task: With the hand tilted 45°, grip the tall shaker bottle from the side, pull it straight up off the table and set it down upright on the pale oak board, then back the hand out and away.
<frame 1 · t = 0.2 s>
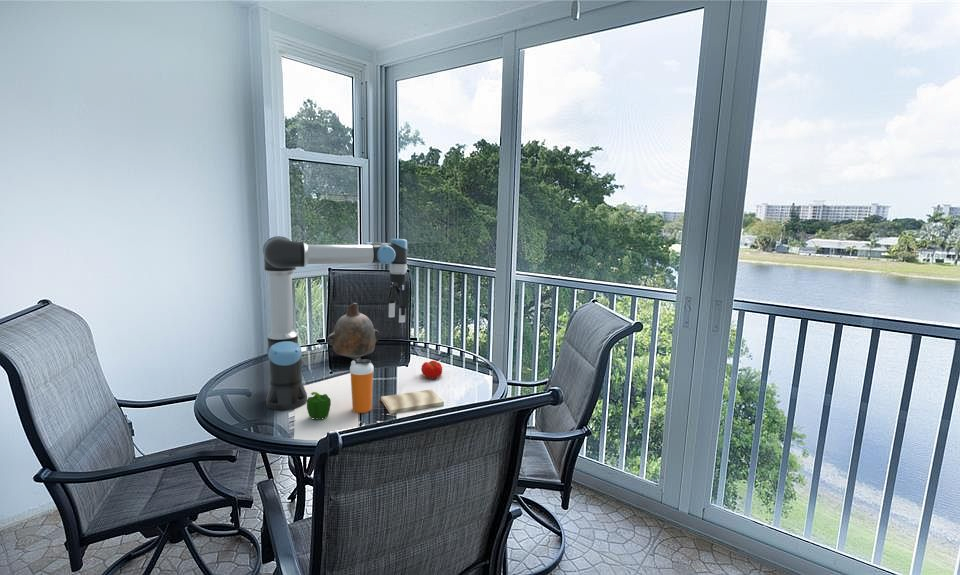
hand: (396, 319, 212), 27 cm above the table, tool pointing down, fingers open, 13 cm apart
tomato: (431, 376, 221), on the table
jug: (354, 359, 241), on the table
bell pepper: (319, 417, 174), on the table
shaker bottle: (362, 409, 182), on the table
oak board: (412, 402, 190), on the table
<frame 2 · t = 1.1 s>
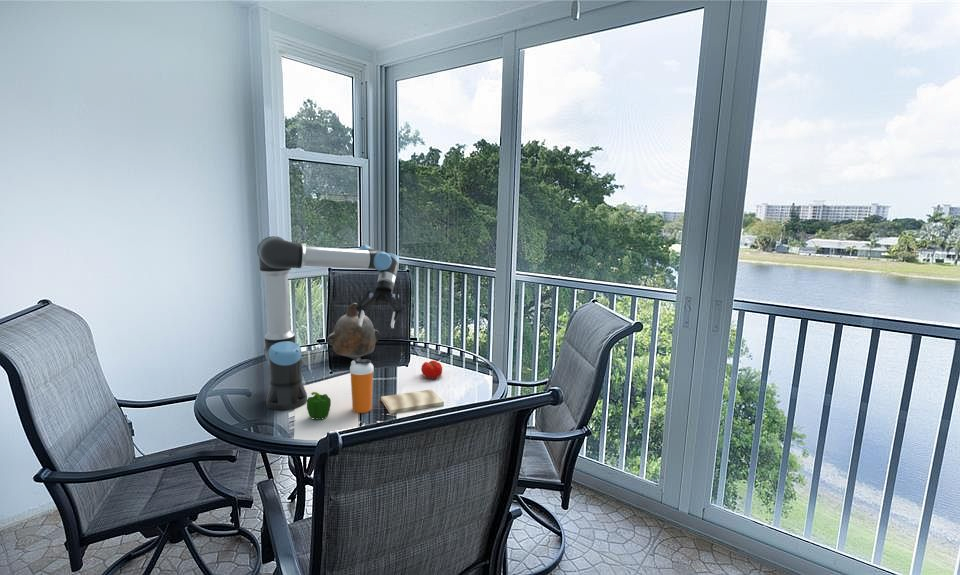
hand: (375, 326, 194), 29 cm above the table, tool tilted 45°, fingers open, 13 cm apart
nothing on the table moved.
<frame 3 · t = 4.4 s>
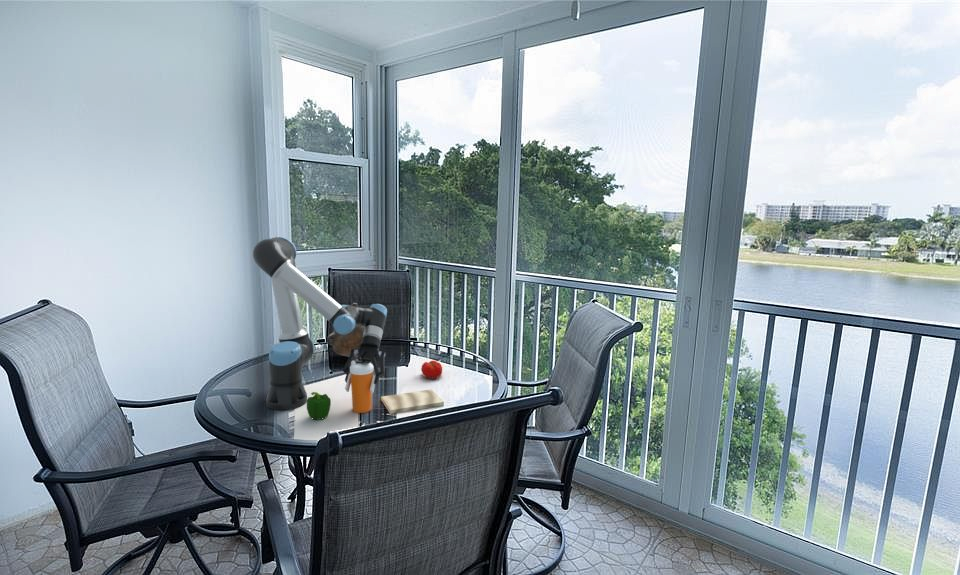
hand: (359, 391, 177), 9 cm above the table, tool tilted 45°, fingers closed on shaker bottle, 9 cm apart
shaker bottle: (362, 409, 182), on the table, touching gripper
everything else where it was.
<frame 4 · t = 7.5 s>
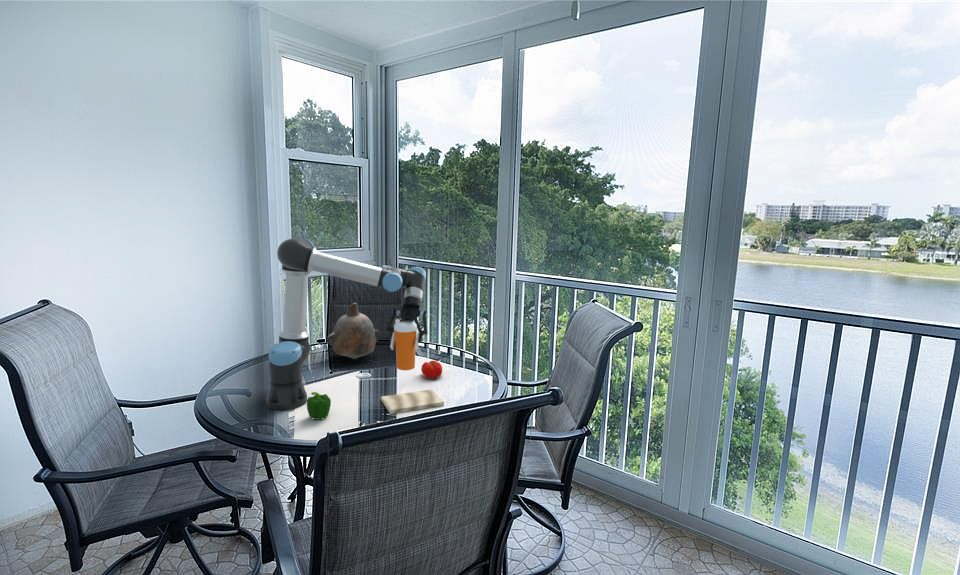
hand: (403, 348, 181), 24 cm above the table, tool tilted 45°, fingers closed on shaker bottle, 9 cm apart
shaker bottle: (405, 367, 186), point 15 cm above the table, touching gripper
everything else where it was.
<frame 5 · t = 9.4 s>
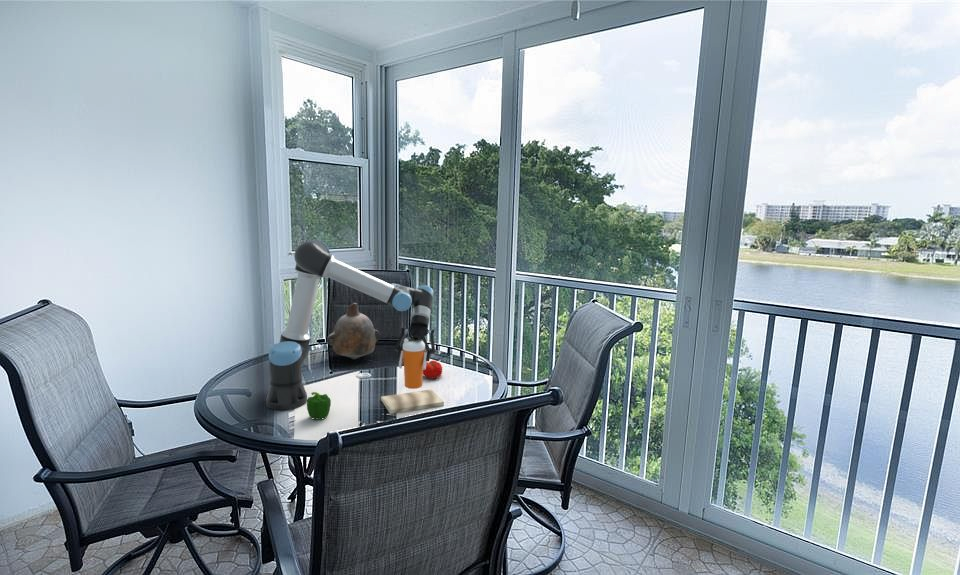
hand: (412, 367, 184), 16 cm above the table, tool tilted 45°, fingers closed on shaker bottle, 9 cm apart
shaker bottle: (413, 386, 189), point 7 cm above the table, touching gripper
everything else where it was.
when the fingers open (11 cm above the table, at t = 11.0 s): shaker bottle stays where it is, resting on oak board.
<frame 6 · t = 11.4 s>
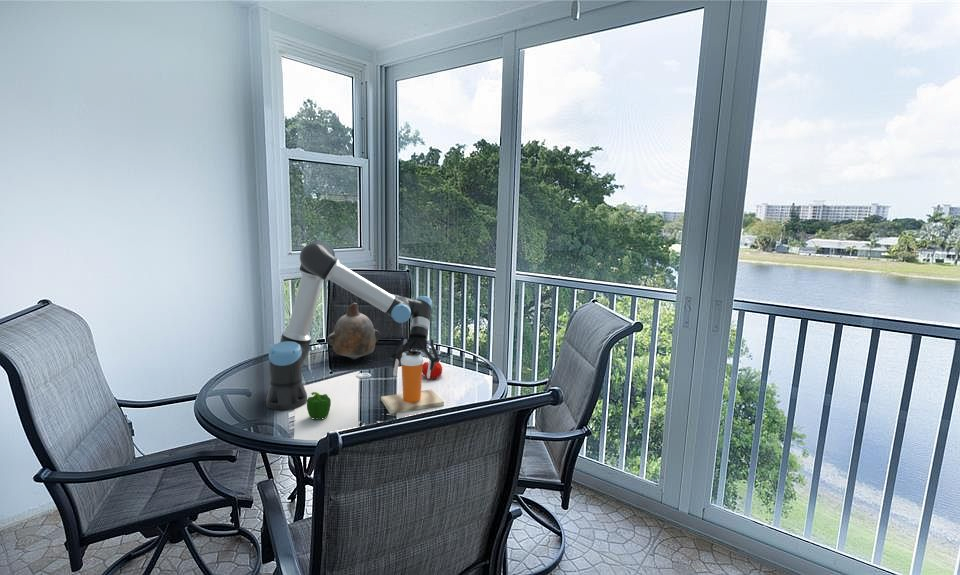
hand: (411, 376, 185), 12 cm above the table, tool tilted 45°, fingers open, 13 cm apart
shaker bottle: (411, 399, 190), point 1 cm above the table, touching oak board
everything else where it was.
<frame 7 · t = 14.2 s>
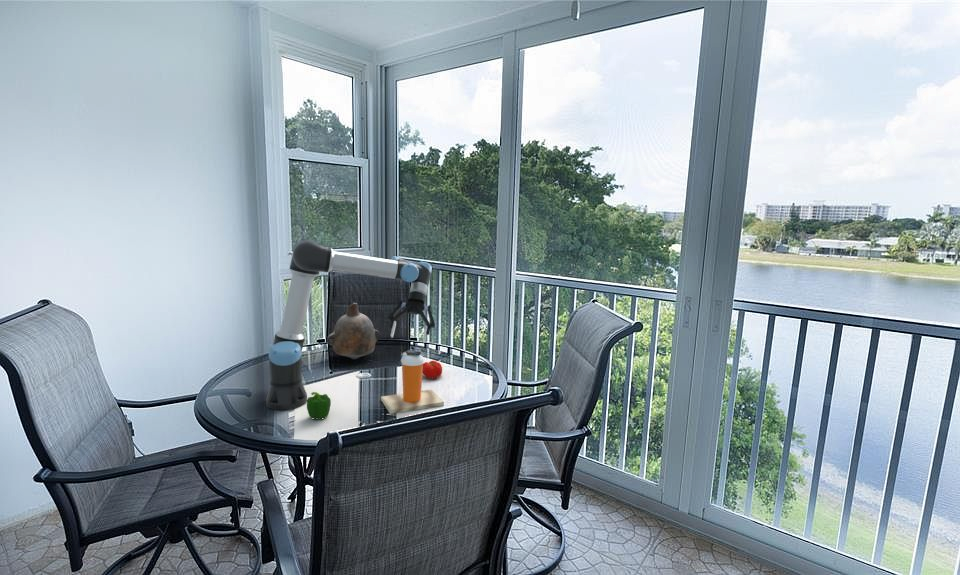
hand: (407, 338, 196), 24 cm above the table, tool tilted 40°, fingers open, 13 cm apart
nothing on the table moved.
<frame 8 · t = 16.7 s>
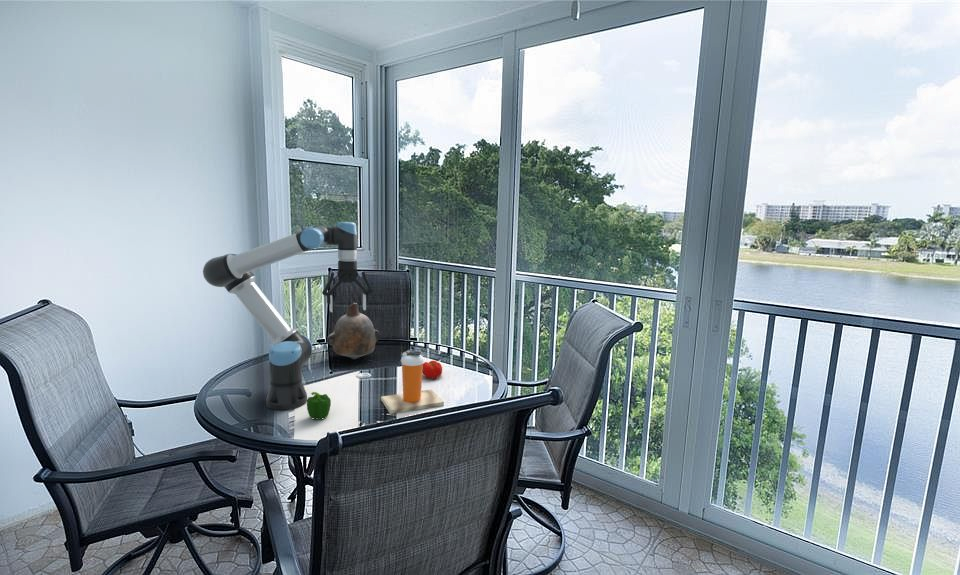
hand: (348, 310, 195), 35 cm above the table, tool pointing down, fingers open, 13 cm apart
nothing on the table moved.
at the end: shaker bottle inside the target area on the oak board (0.1 cm from its centre), point 1.3 cm above the oak board's base; shaker bottle tilted 0°; the gripper is holding nothing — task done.
